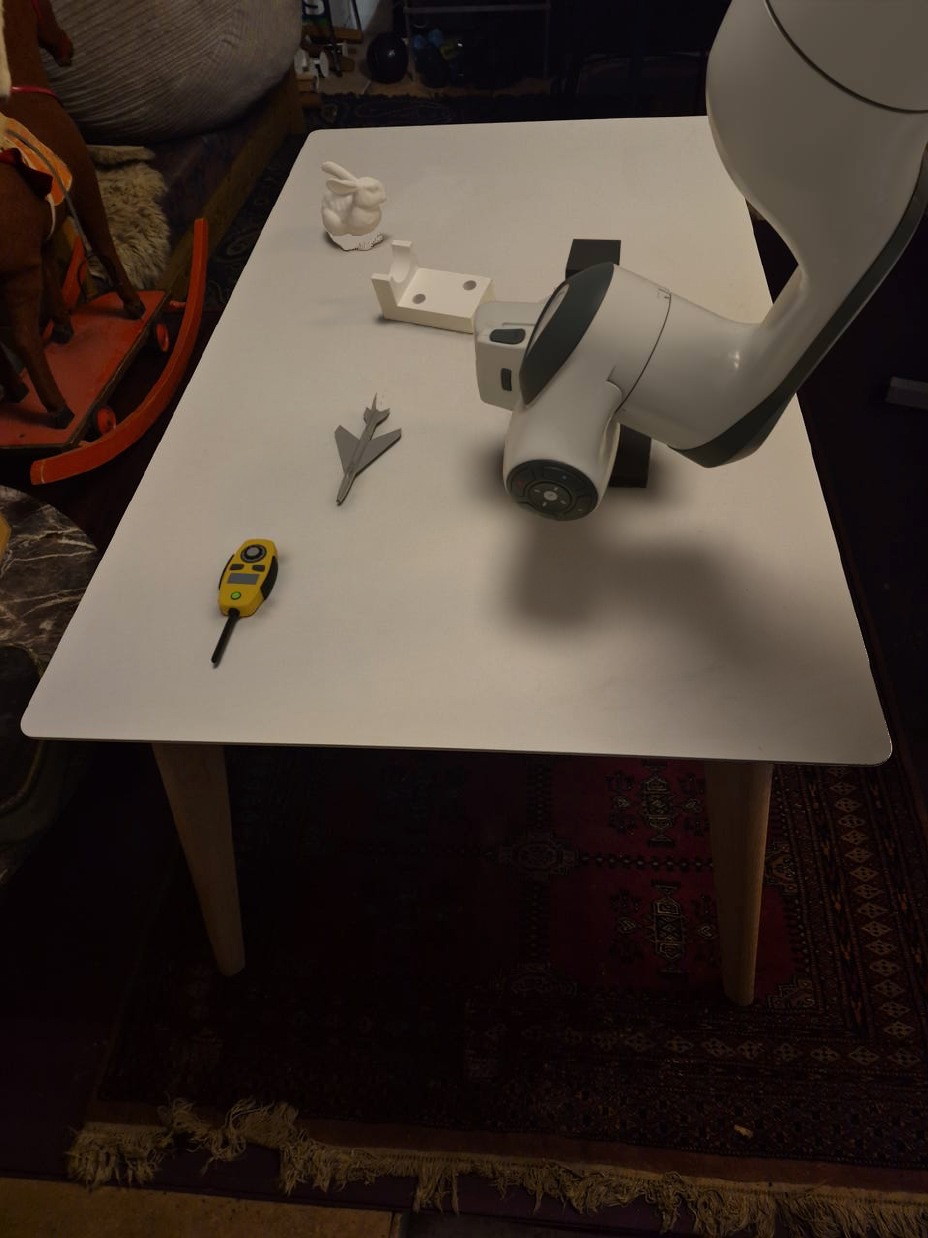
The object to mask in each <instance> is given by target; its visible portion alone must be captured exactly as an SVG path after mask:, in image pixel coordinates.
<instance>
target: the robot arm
mask: <svg viewBox="0 0 928 1238" xmlns="http://www.w3.org/2000/svg"><path fill="white" fill-rule="evenodd" d="M722 19H723V20H722V22H721V24H720V26H719V29H718V31H717V34H716V37H715V39H714V40H713V43H712V46H711V49H710V51H709V55H708V60H707V63H706V64H707V65H706V74H705V76H706V77H705V105H706V115H707V119H708V125H709V128H710V132H711V136H712V140H713V143H714V146H715V148H716V151H717V152H716V153H717V154H718V156H719V159H720V161H721V163H722V165H723V167H724V169H725V171H726V173H727V175H728V176H729V178H730V180H731V181H732V183H733V185H734V186H735V187H736V189H737V191H739V193H740V194H741V196H742V197H743V198H744V199H745V200H746V201H747V202H748V203H749V204H750V205H751V206H752V207H753V208H754V210H756V211H757V212H758V213H759V214H760V216H762V217H763V218H764V219H765V221H767V222H768V223H769V224H770V226H771V227H772V228H773V229H774V230H775V232H776V233H777V234H778V235H779V236H780V238H781V239H782V240H783V242H784V243H785V244H786V245H787V247H788V249H789V250H790V252H791V253H792V256H794V259H795V261H796V262H797V263H798V265H797V267H796V268H795V270H794V272H793V273H792V275H791V276H790V278H789V279H788V281H787V282H786V284H785V286H784V287H783V289H782V290H781V291H780V293H779V295H778V296H777V298H776V299H775V301H774V303H773V304H772V306H771V307H770V309H769V310H768V311H767V313H766V315H765V317H764V318H763V319H762V321H761V322H756V323H746V322H739V321H736V320H732V319H729V318H726V317H724V316H722V315H720V314H717V313H716V312H714V311H711V310H709V309H707V308H705V307H703V306H701V305H699V304H698V303H695V302H693V301H691V300H688V299H687V298H685V297H684V296H681V295H678V294H677V293H674V292H673V291H670V289H669V288H667V287H665V286H663V285H661V284H659V283H657V282H655V281H653V280H650V279H649V278H646V277H645V276H643V275H640V274H638V273H636V272H634V271H632V270H630V269H627V268H625V267H623V266H620V265H619V266H618V265H615V264H613V263H612V262H605V263H601V264H597V265H594V266H591V267H589V268H587V269H585V270H583V271H581V272H579V273H577V274H575V275H573V276H571V277H570V278H568V279H566V280H565V279H564V280H563V281H562V282H561V283H560V284H558V286H555V287H554V288H553V291H552V294H550V295H548V296H546V297H544V298H543V299H541V300H539V301H538V302H531V301H530V302H529V301H528V302H526V301H525V302H524V301H504V300H503V301H501V300H500V301H499V300H496V301H488V302H485V303H483V304H481V305H479V306H478V308H477V310H476V313H475V318H474V334H473V340H474V353H475V354H474V355H475V373H476V374H475V375H476V382H477V388H478V394H479V397H480V401H482V403H484V404H487V405H490V406H494V407H498V408H501V409H504V410H508V411H511V415H510V419H509V422H508V427H507V432H506V437H505V443H504V451H503V458H502V459H503V460H502V479H503V484H504V488H505V490H506V493H507V494H508V496H509V497H510V499H511V500H512V501H513V502H514V504H515V505H517V506H518V507H520V508H521V509H523V510H524V511H526V512H528V513H531V514H533V515H536V516H538V517H540V518H544V519H546V520H550V521H555V522H573V521H579V520H581V519H584V518H586V517H588V516H590V515H591V514H593V513H594V512H595V511H596V510H597V508H598V507H599V505H600V503H601V502H602V500H603V498H604V495H605V492H606V490H607V488H608V486H609V485H608V482H609V479H610V476H611V473H612V469H613V466H614V462H615V457H616V453H617V448H618V442H619V436H620V424H622V425H624V426H627V427H629V428H631V429H633V430H635V431H637V432H640V433H642V434H644V435H646V436H648V437H651V438H652V440H654V441H657V442H660V443H661V444H664V445H666V446H667V447H668V448H669V449H671V450H672V451H674V452H676V453H678V454H680V455H681V456H682V457H684V458H686V459H688V460H690V461H692V462H693V463H694V464H697V465H698V466H700V467H702V468H704V469H714V468H718V467H722V466H725V465H729V464H733V463H737V462H738V461H741V460H743V459H745V458H747V457H750V456H752V455H753V454H755V453H756V452H757V451H758V450H759V449H760V448H761V446H762V445H763V444H764V443H765V442H766V440H767V439H768V437H769V436H770V434H771V433H772V432H773V430H774V428H775V427H776V426H777V424H778V422H779V421H780V419H781V417H782V416H783V414H784V413H785V411H786V409H787V407H788V406H789V404H790V403H791V401H792V400H793V398H794V397H795V395H796V393H797V392H798V391H799V389H801V387H802V386H803V384H805V382H806V381H807V379H808V378H809V377H810V375H811V374H813V372H814V371H815V369H816V368H817V367H818V365H819V364H820V363H821V362H822V360H823V359H824V358H825V356H826V355H827V354H828V353H829V351H831V349H832V347H834V345H835V344H836V343H837V341H838V340H839V339H840V338H841V336H842V335H843V334H844V333H845V331H847V329H848V328H849V326H850V325H851V324H852V322H853V321H854V320H855V319H856V318H857V316H858V315H859V314H860V313H861V311H862V310H863V309H864V307H865V306H866V305H867V304H868V302H869V301H870V300H871V298H872V297H873V295H874V294H875V293H876V291H877V290H878V289H879V287H880V286H881V285H882V283H883V282H884V280H885V279H886V278H887V276H888V275H889V274H890V272H891V271H892V270H893V268H894V267H895V265H896V264H897V262H898V261H899V260H900V259H901V256H902V255H903V253H904V251H905V250H906V249H907V247H908V245H909V243H910V242H911V240H912V238H913V236H914V234H915V232H916V230H917V228H918V226H919V224H920V222H921V219H922V217H923V214H924V212H925V209H926V206H927V203H928V162H927V159H926V157H925V156H924V153H925V149H926V146H927V145H928V0H731V3H730V4H729V6H728V8H727V11H726V13H725V15H724V17H723V18H722Z"/></svg>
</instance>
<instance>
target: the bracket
mask: <svg viewBox="0 0 928 1238" xmlns="http://www.w3.org/2000/svg"><path fill="white" fill-rule="evenodd" d="M413 243H414V242H413V241H410V240H404V239H403V240H402V239H396V238H395V239H393V240H392V242H391V250H392V258H391V259H392V260H391V266H390V270H389V272H388V274H384V273H377V272H373V274H372V276H371V277H370V280H371V283H372V286H373V290H374V292H375V295H376V297H377V300H378V304H379V306H380V309H381V311H382V315H383V318H384V319H386V320H392V321H397V322H402V323H408V324H409V323H410V324H415V325H421V326H427V327H434V328H439V329H444V330H450V331H455V332H462V333H467V334H473V335H474V318H475V313H476V310H477V308H478V306H479V305H481V304H483V303H485V302H488V301H497V297H496V293H495V287H494V283H493V278H492V277H486V276H480V275H475V274H474V275H473V274H467V273H460V272H453V271H446V270H440V269H433V268H425V267H420V264H419V261H418V258H417V254H416V250H415V247H414V244H413Z"/></svg>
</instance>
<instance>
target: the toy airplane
mask: <svg viewBox="0 0 928 1238" xmlns="http://www.w3.org/2000/svg"><path fill="white" fill-rule="evenodd" d="M384 391H385V392H387V389H384ZM377 394H378V392H375V395H374V397H373V400H372V404H371V408H369V407H368V406H366V407H365V409H364V411H363V415H362V416H363V417H364V420H365V421H366V425H365V427H364V429H363V431H362V433H361V436H360V438H358V437H356V435H354V434H353V433H352V432H350V431H349V430H348V429H346V428H345V427H343V426H342V425H341V424H339V425H338V426H337V427H336V429H335V431H334V437H335V439H336V444H337V448H338V451H339V456H340V460H341V463H342V467H343V471H344V475H343V477H342V480H341V482H340V485H339V489H338V491H337V496H336V501H335V502H336V503H337V504H341V503H342V501H343V500H344V499H345V497H346V495H347V494H348V492H349V490H350V488H351V485H352V483H353V481H354V479H355V476H356V474H357V473H359V472H360V471H361V470H362V469H364V467H366V466H367V465H368V464H370V463H371V462H372V461H373V460H374V459H375V458H376V457H378V456H379V455H380V454H381V453H382V452H383V451H384V450H386V449H387V448H388V447H389V446H390V445H391V444H393V443H394V442H395V441H396V440H397V439H398V438H400V437H401V434H402V427H400V428H398V429H395V430H392V431H390V432H387V433H384V434H382V435H380V436H376V437H374V438H371V437H372V435H373V432H374V430H375V427H376V425H377V424H378V423H379V422H380V421H382V420H383V419H385V418H386V417H387V416H388V414H389V412H390V410H391V407H388V408H386V409H384V410H381V411H379V410H378V409H377V398H378V397H377ZM381 397H382V398H385V395H384V394H382V395H381ZM382 404H383V403H382V402H380V403H379V405H380V406H381V405H382Z"/></svg>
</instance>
